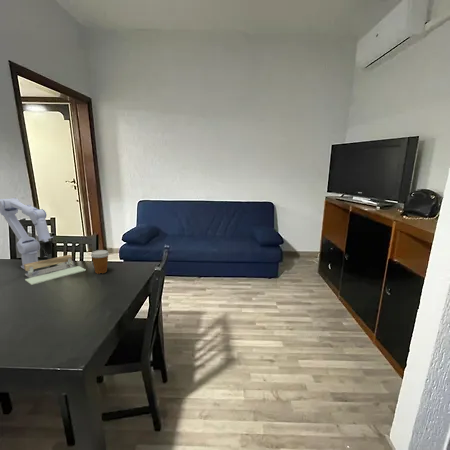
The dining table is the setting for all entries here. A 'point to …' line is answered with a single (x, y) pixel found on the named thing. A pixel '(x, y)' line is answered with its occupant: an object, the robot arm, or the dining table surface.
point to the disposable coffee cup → (100, 261)
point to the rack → (48, 270)
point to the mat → (54, 275)
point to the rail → (47, 262)
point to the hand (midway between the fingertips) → (49, 253)
